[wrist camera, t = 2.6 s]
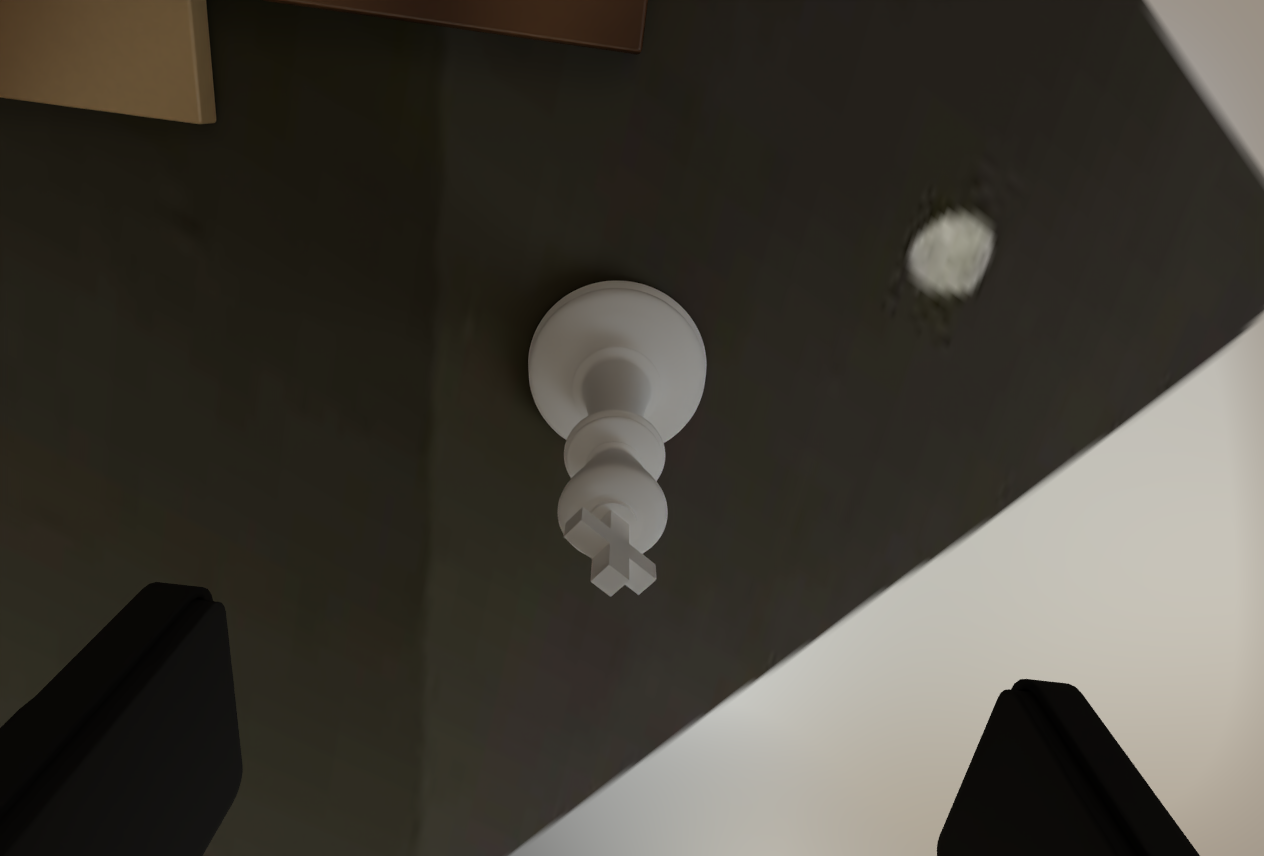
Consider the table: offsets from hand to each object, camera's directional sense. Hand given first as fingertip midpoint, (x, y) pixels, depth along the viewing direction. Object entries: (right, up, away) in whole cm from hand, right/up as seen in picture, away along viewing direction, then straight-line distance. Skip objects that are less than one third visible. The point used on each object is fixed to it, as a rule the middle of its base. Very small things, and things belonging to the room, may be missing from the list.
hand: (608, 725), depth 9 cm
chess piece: (0, +5, +12) cm, 13 cm away
